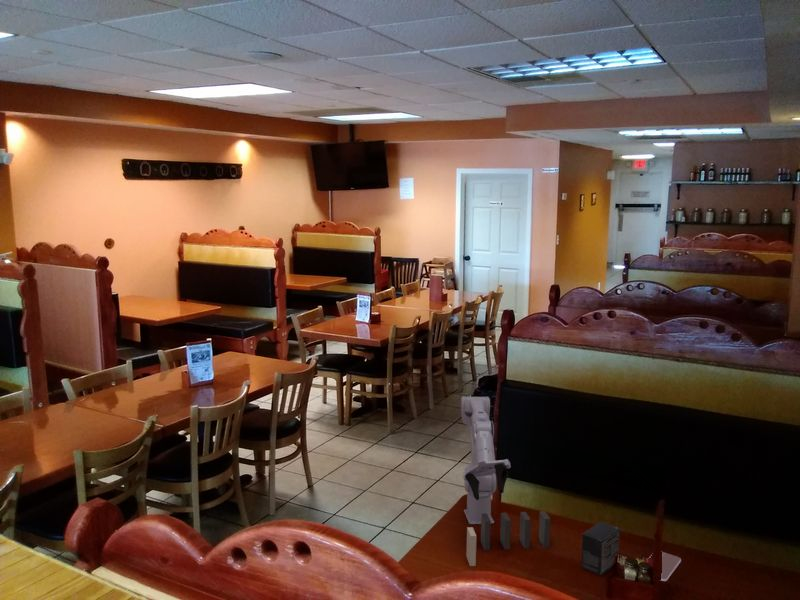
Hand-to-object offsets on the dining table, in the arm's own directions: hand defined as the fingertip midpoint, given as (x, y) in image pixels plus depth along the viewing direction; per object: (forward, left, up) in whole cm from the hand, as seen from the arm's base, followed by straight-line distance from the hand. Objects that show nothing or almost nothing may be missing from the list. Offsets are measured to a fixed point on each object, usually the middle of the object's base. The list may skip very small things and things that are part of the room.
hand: (488, 494), depth 187 cm
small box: (+7, +31, -19) cm, 37 cm away
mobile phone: (+9, +48, -19) cm, 52 cm away
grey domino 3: (-6, +19, -19) cm, 27 cm away
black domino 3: (-6, +7, -19) cm, 21 cm away
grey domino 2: (-6, +13, -19) cm, 23 cm away
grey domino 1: (-6, +1, -19) cm, 19 cm away
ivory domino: (+2, -5, -19) cm, 20 cm away
